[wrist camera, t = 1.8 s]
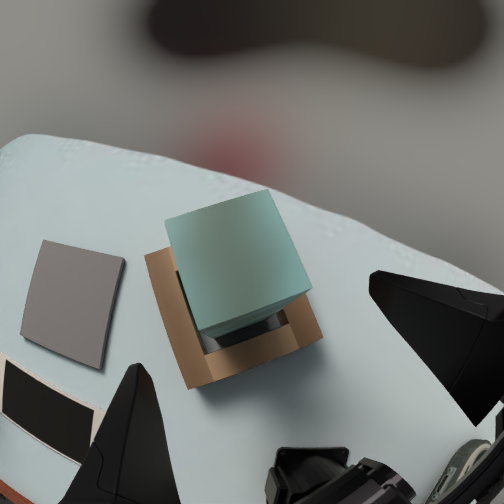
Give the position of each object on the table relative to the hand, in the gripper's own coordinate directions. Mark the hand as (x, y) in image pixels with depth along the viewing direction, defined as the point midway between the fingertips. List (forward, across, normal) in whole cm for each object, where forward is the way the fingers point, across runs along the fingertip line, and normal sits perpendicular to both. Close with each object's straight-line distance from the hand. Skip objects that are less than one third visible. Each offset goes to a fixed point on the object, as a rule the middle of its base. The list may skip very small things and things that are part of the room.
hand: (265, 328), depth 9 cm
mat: (+15, +14, +4) cm, 21 cm away
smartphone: (+9, +21, +11) cm, 26 cm away
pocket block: (+12, 0, +7) cm, 14 cm away
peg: (+12, 0, +7) cm, 14 cm away
